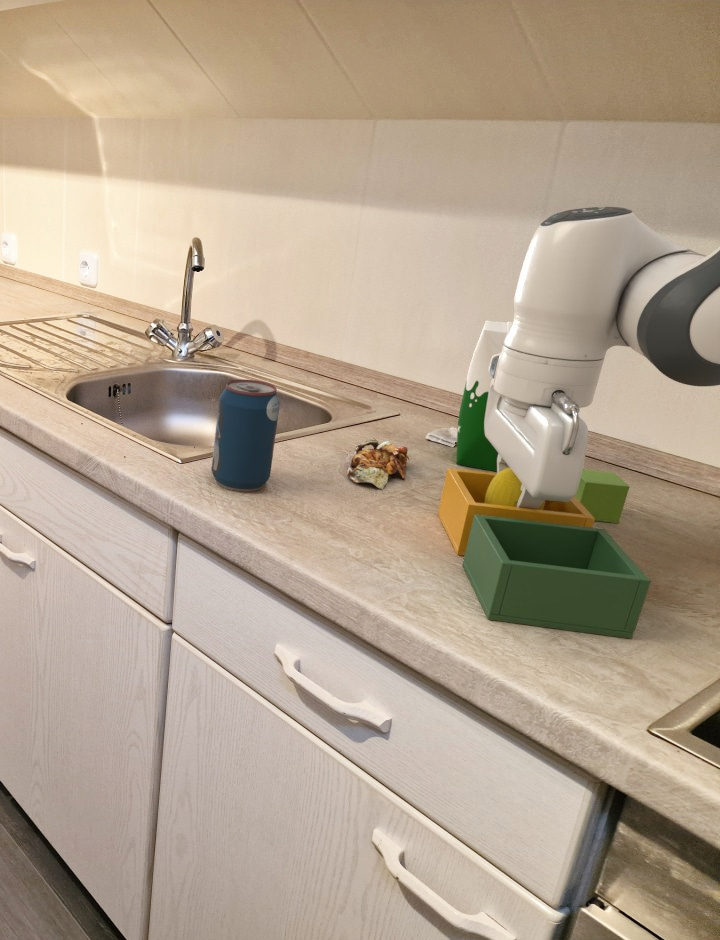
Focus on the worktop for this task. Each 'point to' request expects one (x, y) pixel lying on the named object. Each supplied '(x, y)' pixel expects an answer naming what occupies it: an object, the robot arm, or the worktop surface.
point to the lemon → (505, 489)
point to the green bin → (554, 576)
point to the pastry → (377, 462)
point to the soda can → (245, 435)
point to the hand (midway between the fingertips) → (512, 508)
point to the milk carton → (479, 401)
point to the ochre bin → (494, 507)
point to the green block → (602, 495)
